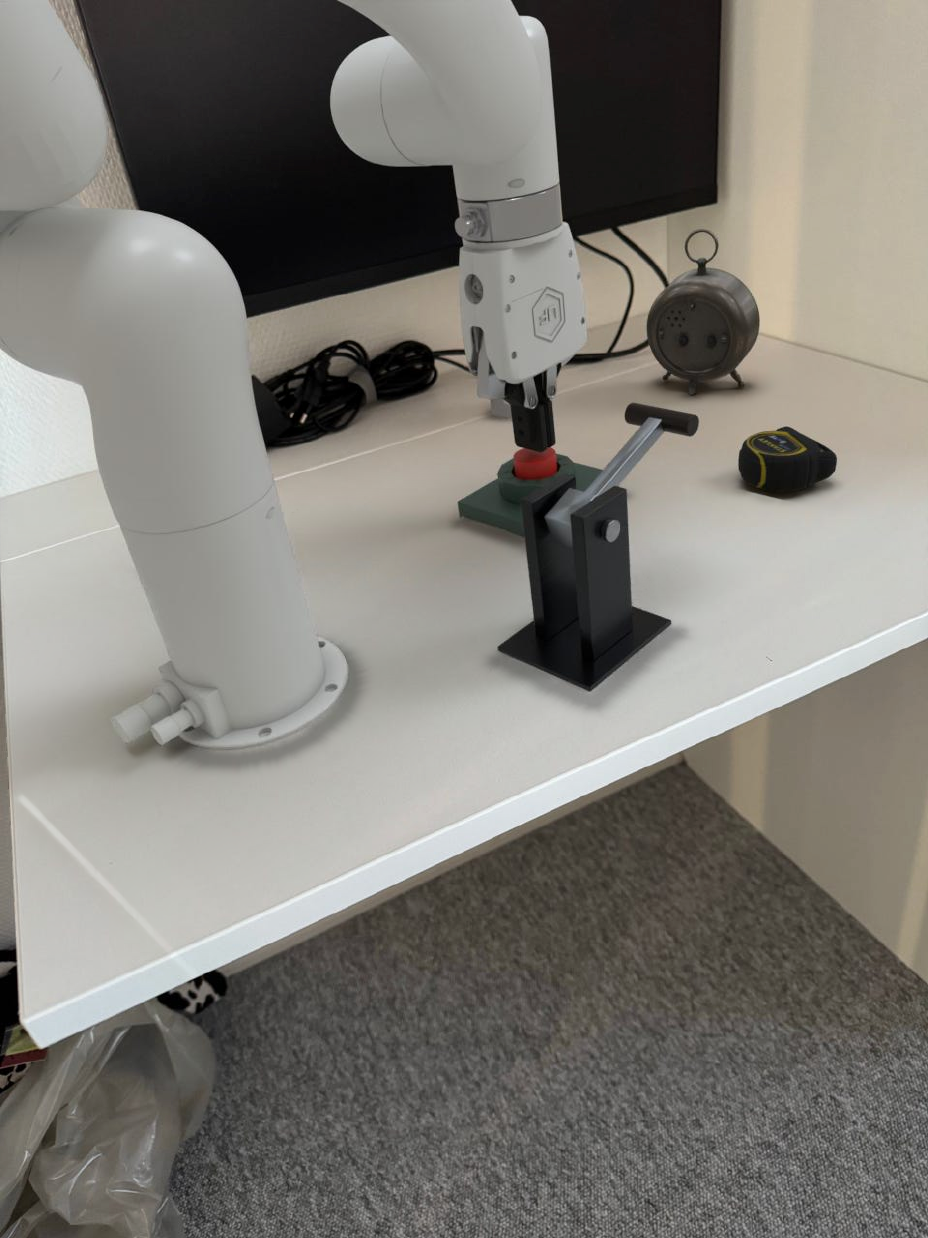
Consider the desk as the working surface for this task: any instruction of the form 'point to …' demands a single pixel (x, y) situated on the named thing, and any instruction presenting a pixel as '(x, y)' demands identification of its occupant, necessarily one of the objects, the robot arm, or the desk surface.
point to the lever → (620, 462)
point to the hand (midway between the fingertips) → (535, 445)
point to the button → (535, 463)
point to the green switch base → (516, 494)
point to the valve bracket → (580, 590)
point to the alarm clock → (703, 323)
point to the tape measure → (784, 460)
